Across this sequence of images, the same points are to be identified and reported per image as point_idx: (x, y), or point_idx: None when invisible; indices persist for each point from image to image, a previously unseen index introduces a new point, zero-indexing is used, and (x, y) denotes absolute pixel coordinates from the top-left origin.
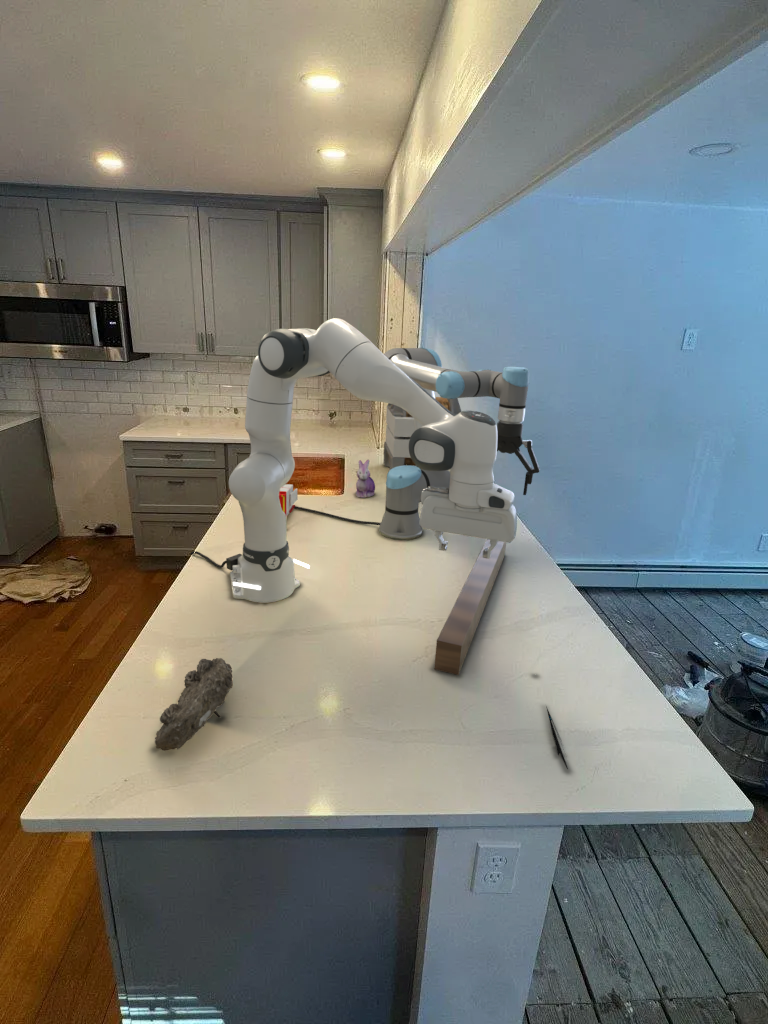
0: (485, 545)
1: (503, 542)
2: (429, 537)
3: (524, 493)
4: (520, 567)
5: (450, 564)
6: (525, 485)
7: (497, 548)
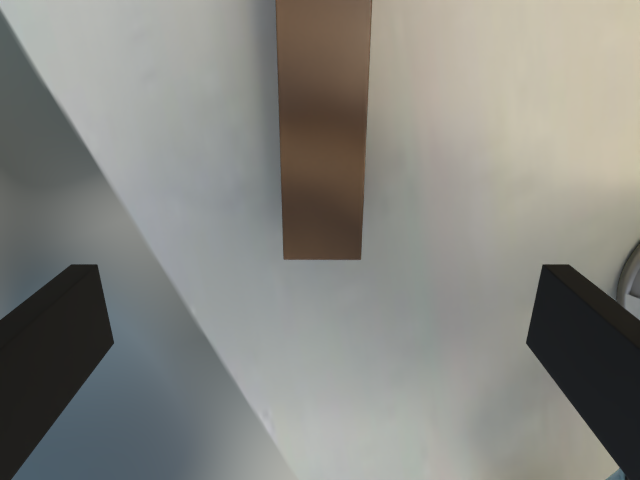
0: (360, 84)
1: (283, 165)
2: None
3: (75, 271)
4: (215, 148)
5: (483, 53)
6: (17, 322)
7: (297, 71)
